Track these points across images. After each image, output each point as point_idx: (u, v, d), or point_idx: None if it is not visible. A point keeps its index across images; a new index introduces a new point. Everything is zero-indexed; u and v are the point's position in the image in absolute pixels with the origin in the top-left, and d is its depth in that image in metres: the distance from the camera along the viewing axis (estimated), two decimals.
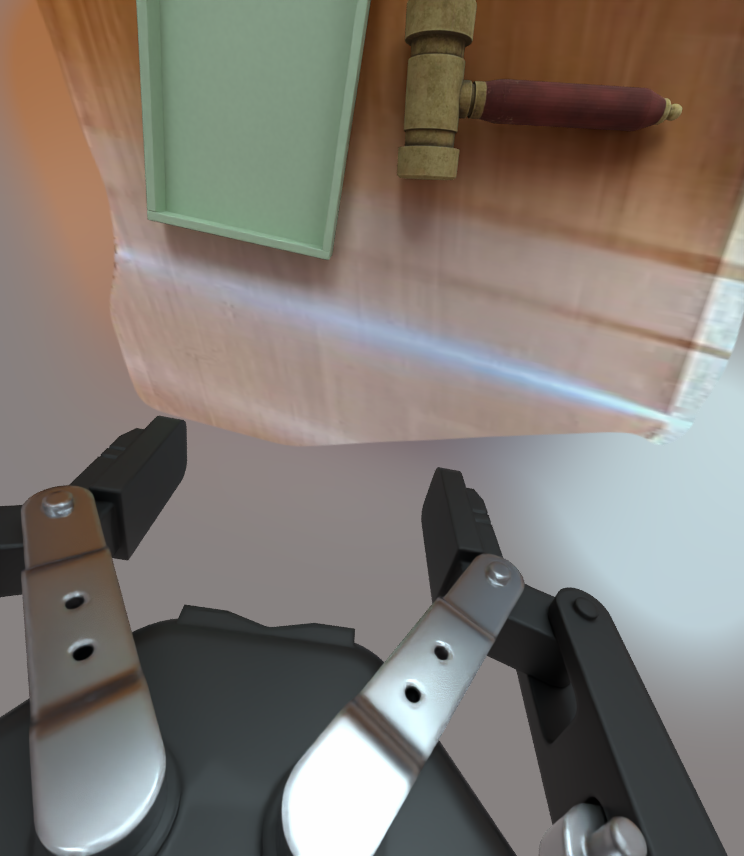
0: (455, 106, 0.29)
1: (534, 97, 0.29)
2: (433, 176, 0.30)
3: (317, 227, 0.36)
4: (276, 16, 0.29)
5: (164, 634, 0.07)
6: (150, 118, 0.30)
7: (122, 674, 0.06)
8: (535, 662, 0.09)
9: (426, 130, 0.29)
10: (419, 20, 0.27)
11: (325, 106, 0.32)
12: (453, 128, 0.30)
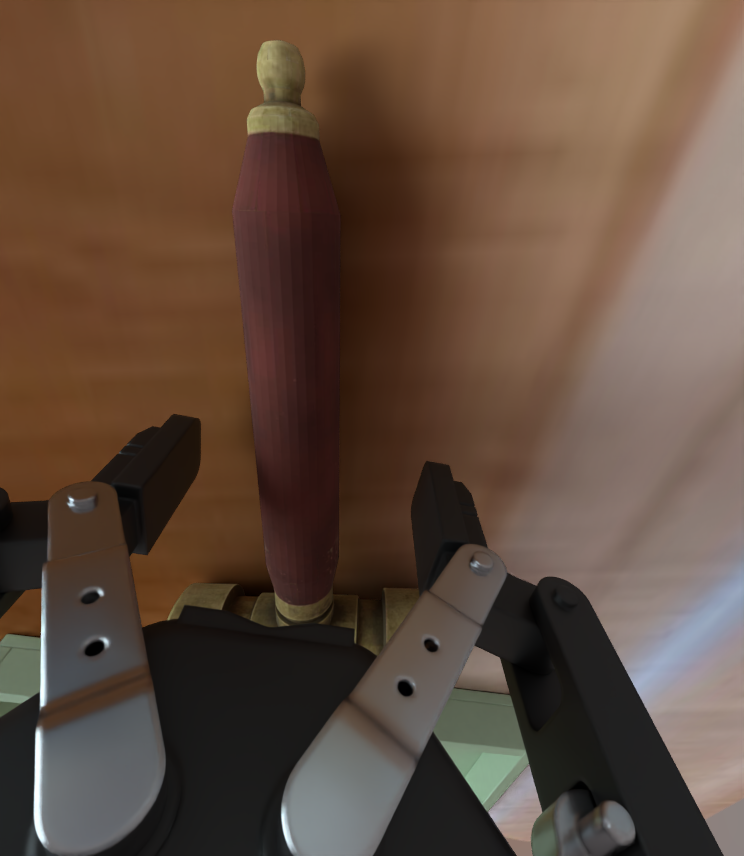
0: None
1: (288, 531, 0.13)
2: None
3: None
4: None
5: (164, 634, 0.07)
6: None
7: (130, 672, 0.06)
8: (517, 649, 0.09)
9: None
10: None
11: None
12: None
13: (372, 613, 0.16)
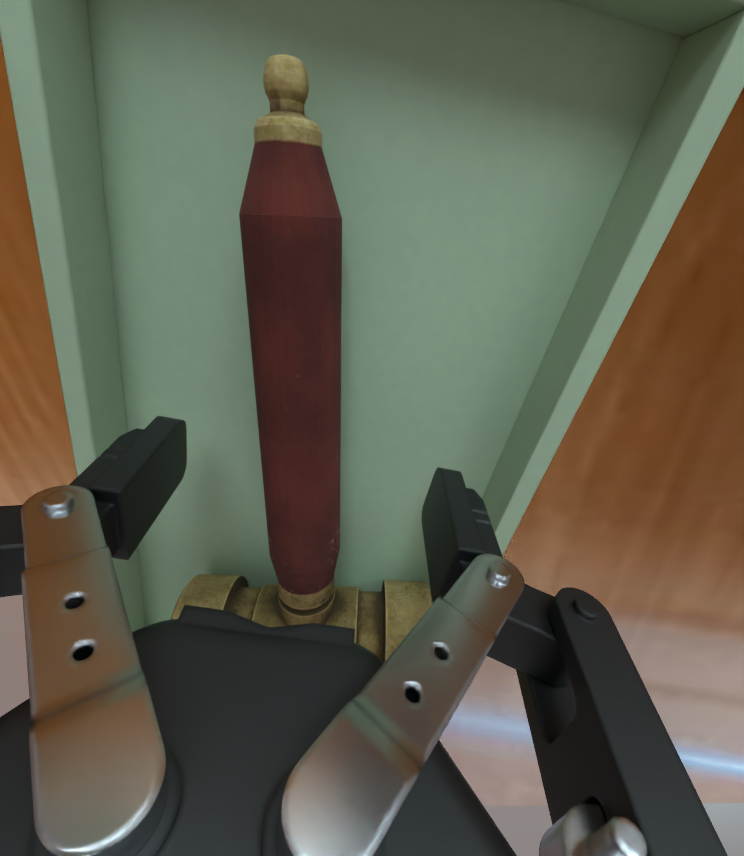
0: None
1: (291, 522, 0.13)
2: None
3: None
4: (358, 406, 0.14)
5: (164, 634, 0.07)
6: None
7: (122, 674, 0.06)
8: (535, 662, 0.09)
9: None
10: None
11: None
12: None
13: (372, 604, 0.17)
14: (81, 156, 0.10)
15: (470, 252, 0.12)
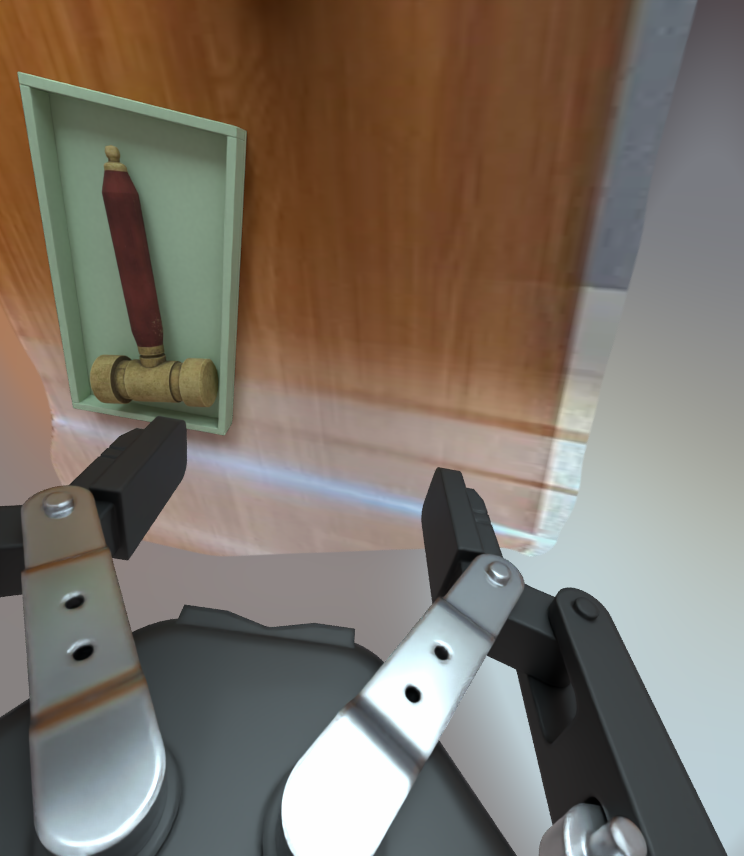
0: (154, 372, 0.38)
1: (133, 308, 0.35)
2: (199, 389, 0.37)
3: (216, 406, 0.43)
4: (165, 271, 0.37)
5: (164, 634, 0.07)
6: (68, 343, 0.38)
7: (122, 674, 0.06)
8: (535, 662, 0.09)
9: (172, 394, 0.38)
10: (113, 401, 0.39)
11: (212, 327, 0.39)
12: (168, 371, 0.38)
13: (182, 363, 0.39)
14: (52, 174, 0.32)
15: (191, 207, 0.34)
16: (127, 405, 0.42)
